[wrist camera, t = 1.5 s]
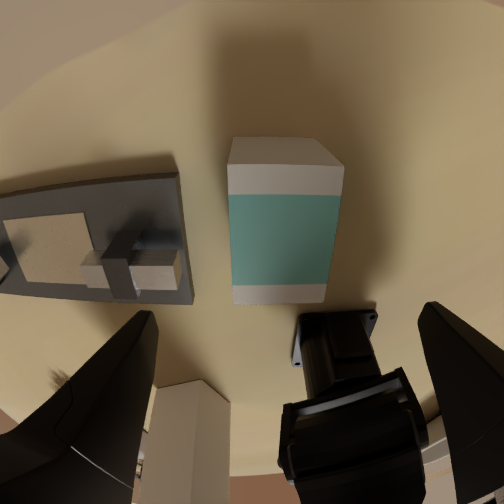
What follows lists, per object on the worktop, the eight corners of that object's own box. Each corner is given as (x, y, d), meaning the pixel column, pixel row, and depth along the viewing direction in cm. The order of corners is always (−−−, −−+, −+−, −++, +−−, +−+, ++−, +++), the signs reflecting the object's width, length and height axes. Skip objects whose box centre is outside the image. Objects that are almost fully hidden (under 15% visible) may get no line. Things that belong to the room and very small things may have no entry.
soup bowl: (373, 452, 46) (378, 479, 40) (421, 397, 33) (434, 436, 27) (462, 424, 46) (470, 446, 40) (519, 362, 33) (533, 389, 27)
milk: (188, 411, 31) (174, 579, 13) (155, 387, 28) (129, 578, 10) (232, 403, 30) (229, 589, 11) (202, 377, 27) (187, 596, 8)
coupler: (305, 244, 19) (323, 302, 14) (236, 245, 19) (233, 304, 14) (315, 138, 15) (344, 166, 11) (233, 136, 15) (227, 164, 11)
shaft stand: (194, 295, 21) (186, 337, 18) (-1, 285, 21) (-21, 313, 17) (178, 172, 16) (160, 200, 13) (-34, 202, 16) (-63, 225, 12)
